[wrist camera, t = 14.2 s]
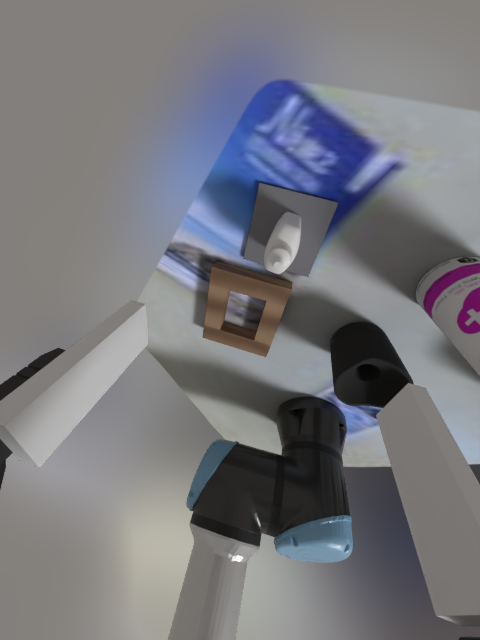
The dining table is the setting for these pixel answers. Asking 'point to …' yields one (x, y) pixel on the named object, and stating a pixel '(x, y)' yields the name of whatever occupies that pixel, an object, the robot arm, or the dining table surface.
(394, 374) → the pen holder
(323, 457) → the robot arm
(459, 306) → the supplement can
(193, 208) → the dining table surface
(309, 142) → the dining table surface
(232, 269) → the bottle holder
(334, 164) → the dining table surface
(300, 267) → the rubber mat
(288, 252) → the eye dropper bottle
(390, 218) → the dining table surface
